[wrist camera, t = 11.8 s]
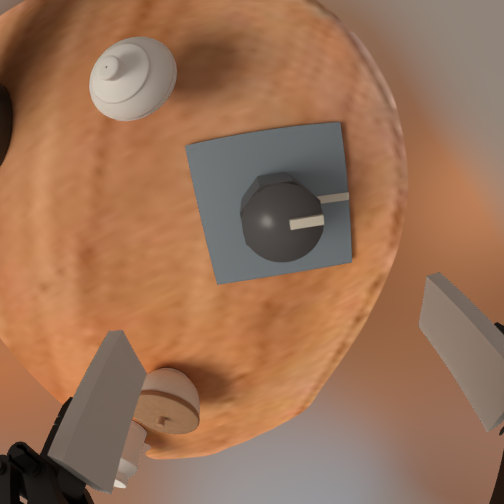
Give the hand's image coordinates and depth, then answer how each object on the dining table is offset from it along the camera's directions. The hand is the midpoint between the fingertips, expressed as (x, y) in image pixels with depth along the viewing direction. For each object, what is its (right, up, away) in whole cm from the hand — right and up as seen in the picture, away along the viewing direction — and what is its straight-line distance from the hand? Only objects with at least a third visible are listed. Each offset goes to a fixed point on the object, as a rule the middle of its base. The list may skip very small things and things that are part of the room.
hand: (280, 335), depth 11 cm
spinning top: (-11, +20, +14) cm, 27 cm away
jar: (-30, -36, +38) cm, 60 cm away
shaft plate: (+1, +8, +19) cm, 21 cm away
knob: (+1, +8, +18) cm, 20 cm away
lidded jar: (-14, -17, +30) cm, 38 cm away
